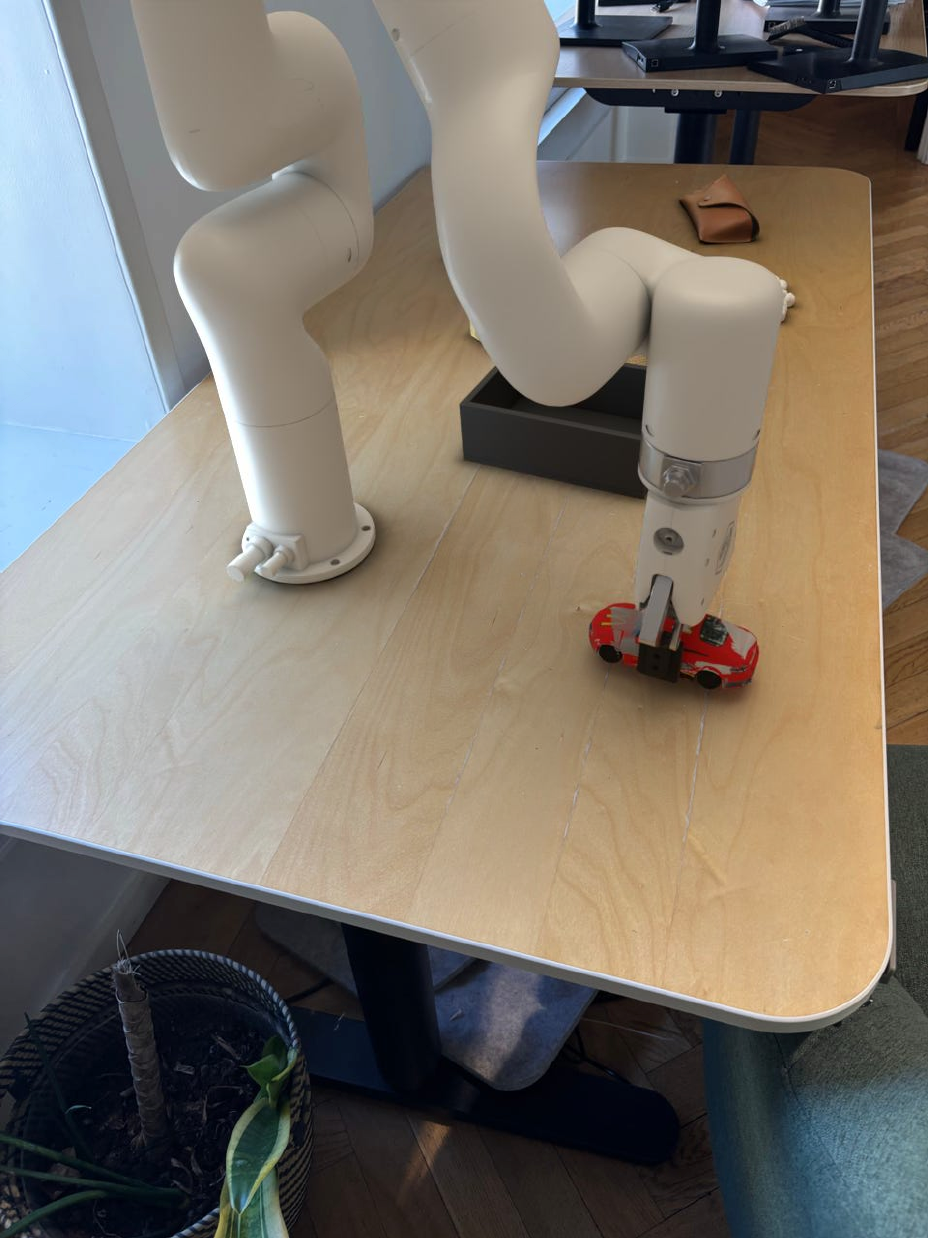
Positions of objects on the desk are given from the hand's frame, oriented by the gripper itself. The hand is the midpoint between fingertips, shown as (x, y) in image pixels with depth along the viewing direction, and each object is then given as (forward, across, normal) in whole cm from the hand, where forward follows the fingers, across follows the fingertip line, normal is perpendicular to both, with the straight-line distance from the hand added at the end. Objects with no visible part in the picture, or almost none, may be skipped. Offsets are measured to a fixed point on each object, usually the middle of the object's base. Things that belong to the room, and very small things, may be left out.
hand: (670, 647), depth 77 cm
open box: (+3, +28, +19) cm, 34 cm away
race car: (+1, 0, 0) cm, 1 cm away
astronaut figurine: (+3, +67, +10) cm, 68 cm away
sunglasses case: (+3, +92, +23) cm, 95 cm away
